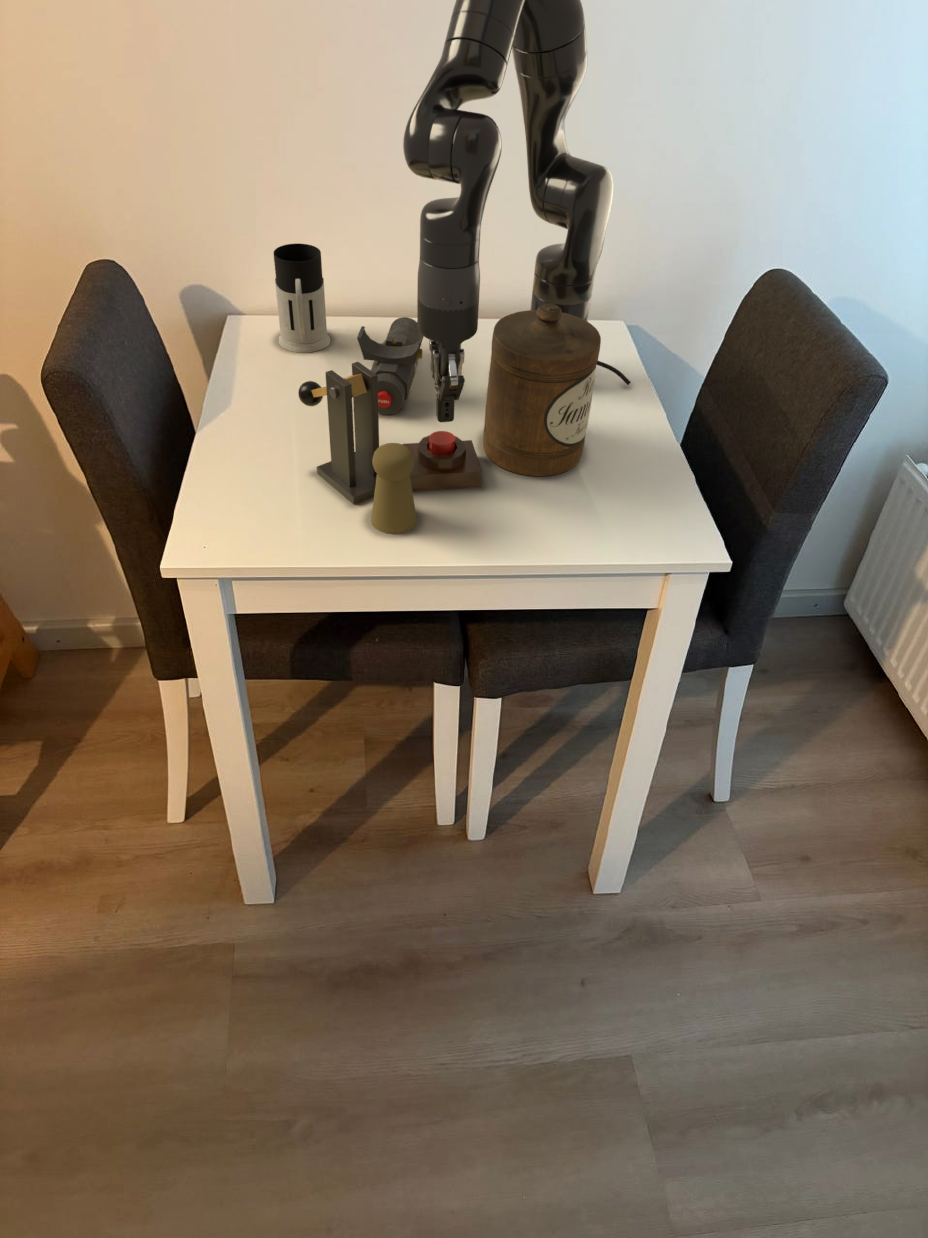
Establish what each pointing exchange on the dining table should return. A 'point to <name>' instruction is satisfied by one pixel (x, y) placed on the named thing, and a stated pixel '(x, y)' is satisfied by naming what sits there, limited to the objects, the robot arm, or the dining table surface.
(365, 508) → the dining table surface
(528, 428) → the wooden container
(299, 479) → the dining table surface
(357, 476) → the switch bracket
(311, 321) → the glass holder
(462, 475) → the lamp base
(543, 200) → the robot arm
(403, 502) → the tan wooden game pawn
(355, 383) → the lever
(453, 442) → the button
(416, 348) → the laser sight
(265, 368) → the dining table surface
